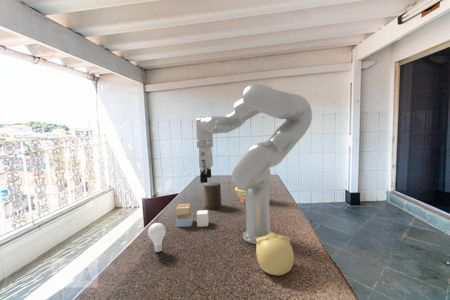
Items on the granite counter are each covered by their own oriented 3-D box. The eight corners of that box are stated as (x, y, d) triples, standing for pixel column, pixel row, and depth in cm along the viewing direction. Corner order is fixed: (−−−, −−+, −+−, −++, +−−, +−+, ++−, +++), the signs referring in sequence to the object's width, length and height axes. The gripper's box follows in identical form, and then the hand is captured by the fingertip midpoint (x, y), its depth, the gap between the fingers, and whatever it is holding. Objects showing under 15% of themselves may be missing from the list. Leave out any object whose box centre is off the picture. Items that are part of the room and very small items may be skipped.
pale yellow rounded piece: (287, 256, 80) (286, 226, 79) (299, 279, 68) (299, 244, 67) (254, 258, 79) (253, 228, 78) (260, 281, 67) (259, 246, 66)
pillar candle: (219, 209, 128) (218, 183, 127) (202, 209, 130) (201, 183, 129) (223, 204, 138) (222, 179, 136) (207, 203, 140) (206, 179, 138)
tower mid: (189, 218, 109) (189, 207, 108) (176, 218, 109) (176, 208, 108) (191, 213, 115) (190, 203, 114) (179, 214, 115) (178, 204, 114)
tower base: (191, 226, 109) (190, 218, 108) (176, 227, 108) (175, 219, 108) (193, 220, 116) (192, 213, 115) (179, 221, 115) (178, 213, 115)
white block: (207, 226, 108) (207, 213, 107) (197, 226, 108) (196, 214, 107) (208, 221, 113) (207, 210, 112) (198, 222, 113) (197, 210, 112)
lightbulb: (160, 245, 92) (158, 218, 90) (170, 250, 87) (168, 222, 86) (146, 252, 87) (143, 224, 86) (156, 258, 83) (153, 228, 82)
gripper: (209, 145, 99) (210, 184, 101) (215, 142, 116) (216, 175, 118) (192, 146, 100) (193, 184, 102) (201, 142, 117) (202, 175, 119)
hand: (206, 179), depth 110 cm, fingers open, 9 cm apart
